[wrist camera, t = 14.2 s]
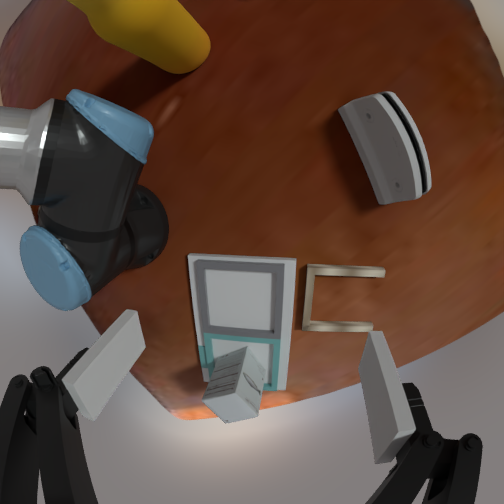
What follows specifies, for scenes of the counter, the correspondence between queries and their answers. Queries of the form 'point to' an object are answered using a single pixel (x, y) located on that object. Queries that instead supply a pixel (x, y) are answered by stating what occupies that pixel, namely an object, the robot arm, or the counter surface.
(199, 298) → the pocket plate
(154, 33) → the beer bottle
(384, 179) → the gray curved slotted casing
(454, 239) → the counter surface
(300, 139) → the counter surface
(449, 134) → the counter surface
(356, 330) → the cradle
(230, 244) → the counter surface
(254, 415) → the supplement box
